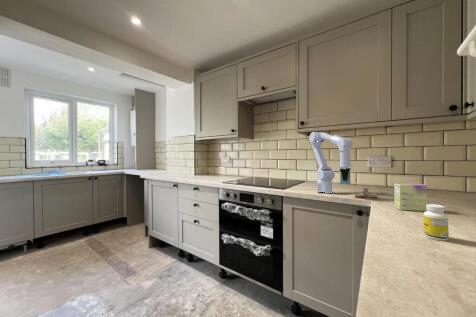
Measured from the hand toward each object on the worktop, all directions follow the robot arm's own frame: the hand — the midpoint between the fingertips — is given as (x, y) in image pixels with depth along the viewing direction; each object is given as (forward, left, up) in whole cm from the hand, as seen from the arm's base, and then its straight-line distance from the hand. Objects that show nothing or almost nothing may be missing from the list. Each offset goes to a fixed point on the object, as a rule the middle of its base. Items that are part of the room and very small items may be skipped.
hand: (345, 180), depth 125 cm
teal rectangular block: (0, 0, -2) cm, 2 cm away
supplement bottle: (+28, -57, -11) cm, 64 cm away
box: (+28, -19, -11) cm, 35 cm away
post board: (+11, +8, -10) cm, 17 cm away
